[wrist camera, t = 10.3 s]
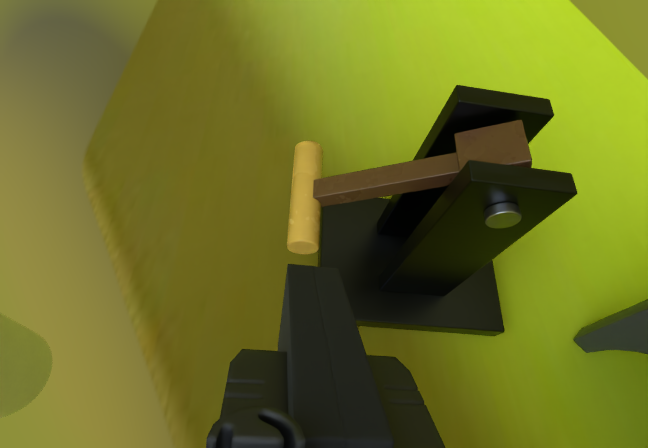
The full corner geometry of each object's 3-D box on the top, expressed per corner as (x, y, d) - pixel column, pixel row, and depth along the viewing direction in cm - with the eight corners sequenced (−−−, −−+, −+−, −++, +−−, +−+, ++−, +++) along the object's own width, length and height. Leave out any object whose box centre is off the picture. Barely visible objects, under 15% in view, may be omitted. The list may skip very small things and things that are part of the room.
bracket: (315, 322, 26) (374, 215, 14) (320, 199, 31) (369, 38, 19) (495, 336, 28) (684, 250, 16) (476, 217, 32) (614, 79, 20)
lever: (298, 259, 22) (277, 239, 20) (304, 164, 24) (286, 138, 23) (539, 229, 18) (542, 200, 16) (513, 121, 21) (513, 86, 19)
